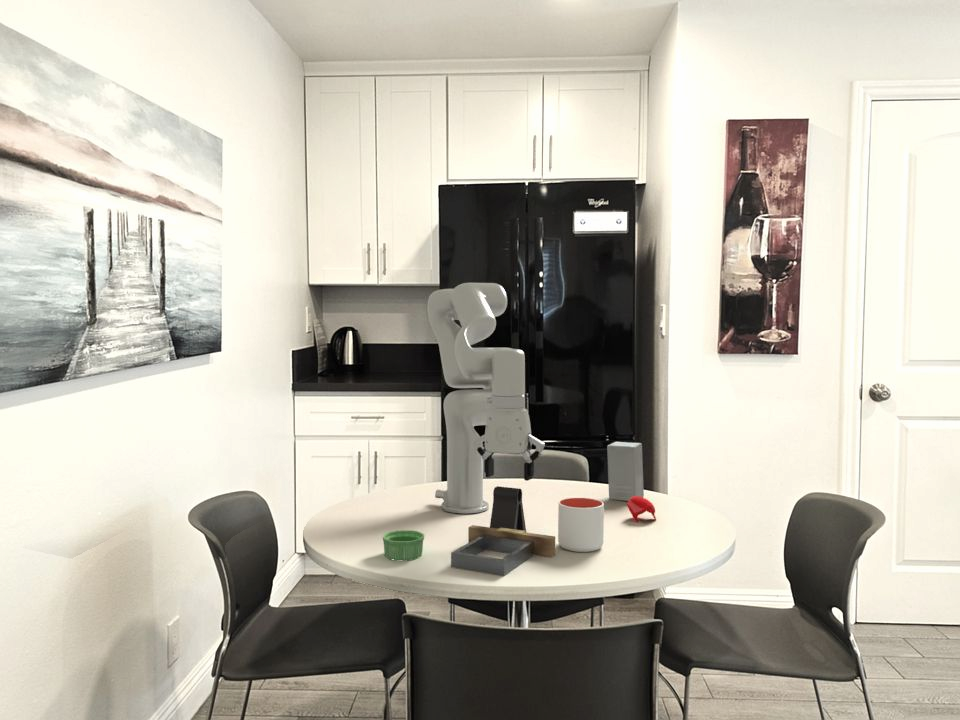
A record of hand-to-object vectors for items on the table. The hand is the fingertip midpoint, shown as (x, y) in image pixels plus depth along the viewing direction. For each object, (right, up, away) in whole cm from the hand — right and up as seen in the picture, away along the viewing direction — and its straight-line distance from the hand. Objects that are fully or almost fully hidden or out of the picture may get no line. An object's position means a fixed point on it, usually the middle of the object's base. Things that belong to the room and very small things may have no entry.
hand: (508, 477), depth 181 cm
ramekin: (-23, -15, -11) cm, 30 cm away
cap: (+34, -14, +19) cm, 41 cm away
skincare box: (+34, -12, +41) cm, 55 cm away
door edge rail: (0, -15, -7) cm, 16 cm away
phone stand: (0, -15, +1) cm, 15 cm away
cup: (+16, -15, -4) cm, 22 cm away
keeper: (-4, -15, -15) cm, 21 cm away
